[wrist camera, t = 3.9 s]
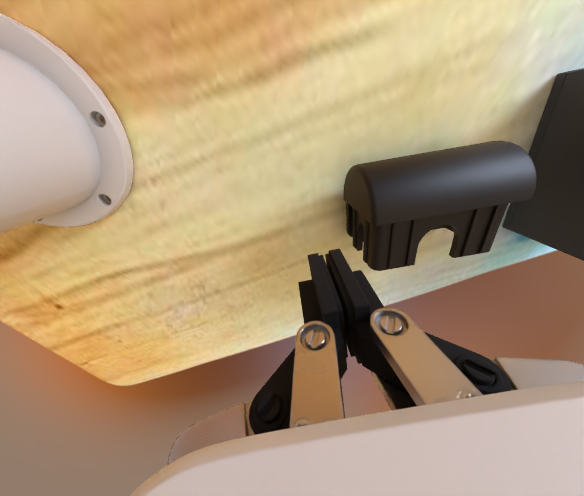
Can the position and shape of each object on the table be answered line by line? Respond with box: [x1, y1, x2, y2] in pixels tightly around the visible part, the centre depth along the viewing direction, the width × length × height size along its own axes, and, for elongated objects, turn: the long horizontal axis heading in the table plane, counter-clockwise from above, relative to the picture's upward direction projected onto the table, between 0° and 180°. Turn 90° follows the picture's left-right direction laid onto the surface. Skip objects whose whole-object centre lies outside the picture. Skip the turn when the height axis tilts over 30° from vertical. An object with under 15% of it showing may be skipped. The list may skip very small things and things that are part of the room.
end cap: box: [344, 141, 537, 271], centre depth 16 cm, size 10×7×7 cm
